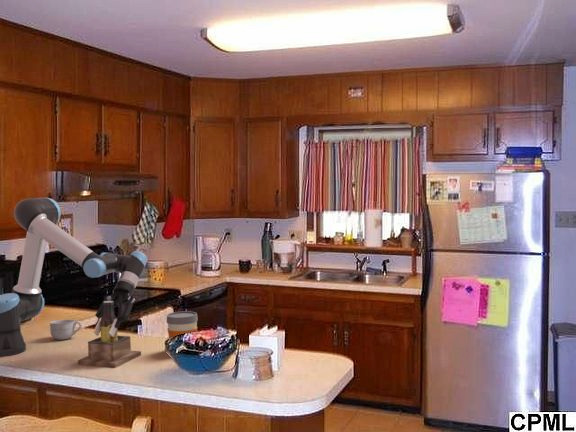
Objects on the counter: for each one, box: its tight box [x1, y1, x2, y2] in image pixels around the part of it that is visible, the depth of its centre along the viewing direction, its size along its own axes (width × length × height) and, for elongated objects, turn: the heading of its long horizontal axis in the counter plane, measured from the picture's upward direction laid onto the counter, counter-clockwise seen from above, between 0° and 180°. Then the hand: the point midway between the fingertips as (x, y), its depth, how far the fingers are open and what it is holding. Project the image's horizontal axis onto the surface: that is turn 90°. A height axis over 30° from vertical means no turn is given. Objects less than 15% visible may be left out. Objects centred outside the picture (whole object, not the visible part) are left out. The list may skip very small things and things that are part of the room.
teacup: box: [49, 318, 83, 340], centre depth 278 cm, size 14×11×8 cm
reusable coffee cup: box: [166, 310, 199, 339], centre depth 252 cm, size 13×13×15 cm
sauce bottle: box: [100, 301, 119, 343], centre depth 242 cm, size 7×6×20 cm
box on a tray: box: [77, 335, 142, 368], centre depth 242 cm, size 17×17×8 cm
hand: (103, 334), depth 239 cm, fingers closed on sauce bottle, 6 cm apart
